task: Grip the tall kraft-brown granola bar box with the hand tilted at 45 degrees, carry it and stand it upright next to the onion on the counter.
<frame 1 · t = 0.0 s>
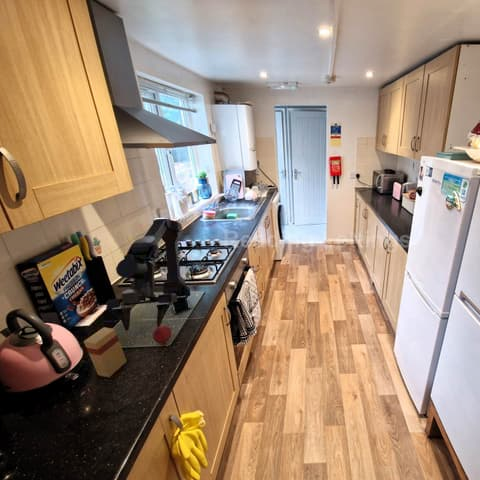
hand: (142, 328, 84), 15 cm above the worktop, tool tilted 35°, fingers open, 9 cm apart
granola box: (112, 368, 88), on the worktop
onion: (164, 342, 99), on the worktop
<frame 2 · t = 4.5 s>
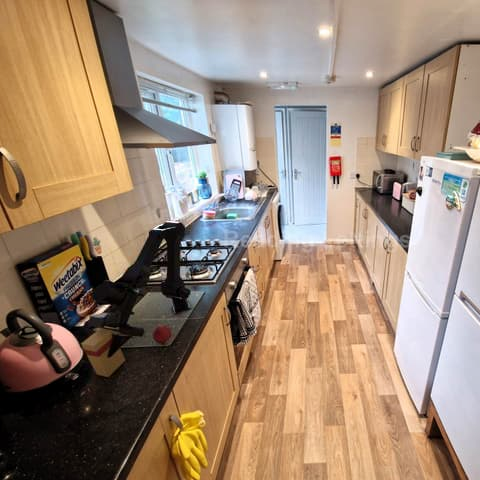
hand: (102, 356, 84), 7 cm above the worktop, tool tilted 45°, fingers closed on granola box, 4 cm apart
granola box: (111, 367, 88), on the worktop, tilted 5°, touching gripper
everything else where it was.
when the fingers open (7 cm above the worktop, at t = 8.7 s): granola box stays where it is, on the worktop.
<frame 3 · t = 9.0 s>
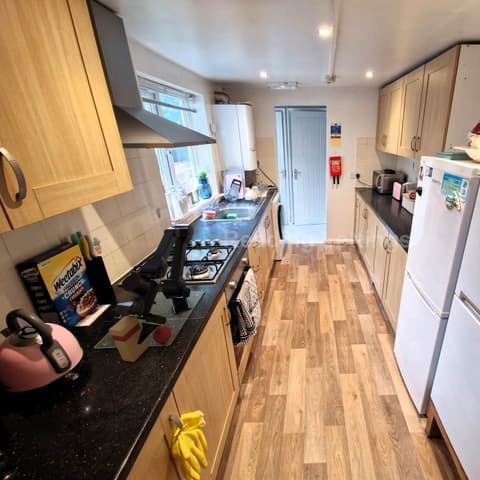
hand: (128, 342, 89), 7 cm above the worktop, tool tilted 45°, fingers open, 8 cm apart
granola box: (135, 353, 93), on the worktop, touching gripper
everything else where it was.
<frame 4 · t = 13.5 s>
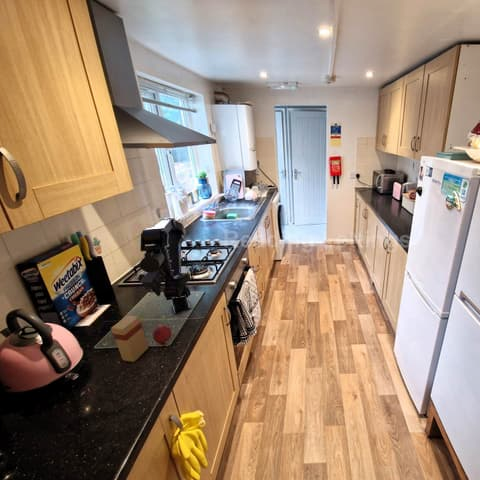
hand: (169, 297, 103), 13 cm above the worktop, tool pointing down, fingers open, 9 cm apart
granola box: (136, 354, 93), on the worktop
everything else where it was.
at the end: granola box 9.0 cm from the onion (horizontally); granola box tilted 0°; onion moved 0.2 cm from its start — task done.
